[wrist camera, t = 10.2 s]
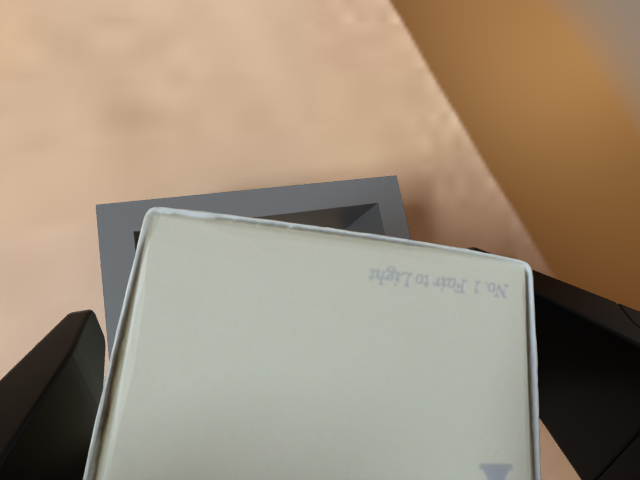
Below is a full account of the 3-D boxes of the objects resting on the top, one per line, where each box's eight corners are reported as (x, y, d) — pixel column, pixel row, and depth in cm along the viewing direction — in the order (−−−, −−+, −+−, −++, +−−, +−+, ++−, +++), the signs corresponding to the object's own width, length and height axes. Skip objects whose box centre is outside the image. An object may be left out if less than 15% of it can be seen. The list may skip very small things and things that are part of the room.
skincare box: (339, 297, 18) (548, 252, 6) (331, 398, 17) (563, 566, 5) (201, 280, 16) (142, 184, 5) (183, 388, 15) (53, 588, 4)
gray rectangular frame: (403, 428, 17) (462, 464, 13) (157, 502, 14) (127, 578, 10) (358, 208, 19) (396, 175, 15) (130, 236, 16) (95, 205, 12)
